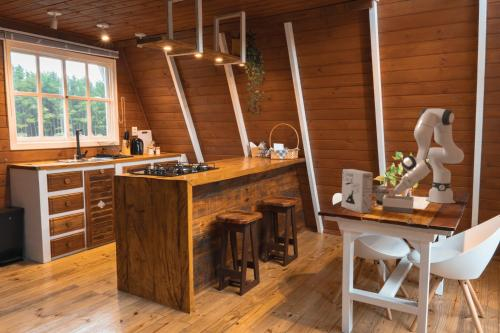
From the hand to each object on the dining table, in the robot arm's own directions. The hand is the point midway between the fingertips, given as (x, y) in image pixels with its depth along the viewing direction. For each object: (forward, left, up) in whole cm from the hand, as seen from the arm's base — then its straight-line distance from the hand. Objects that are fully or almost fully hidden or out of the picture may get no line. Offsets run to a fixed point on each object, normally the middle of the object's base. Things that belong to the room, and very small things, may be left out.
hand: (390, 195), depth 255 cm
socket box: (0, +5, -9) cm, 10 cm away
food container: (-15, -5, -9) cm, 19 cm away
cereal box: (+11, -20, -9) cm, 25 cm away
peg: (0, +1, -6) cm, 6 cm away
